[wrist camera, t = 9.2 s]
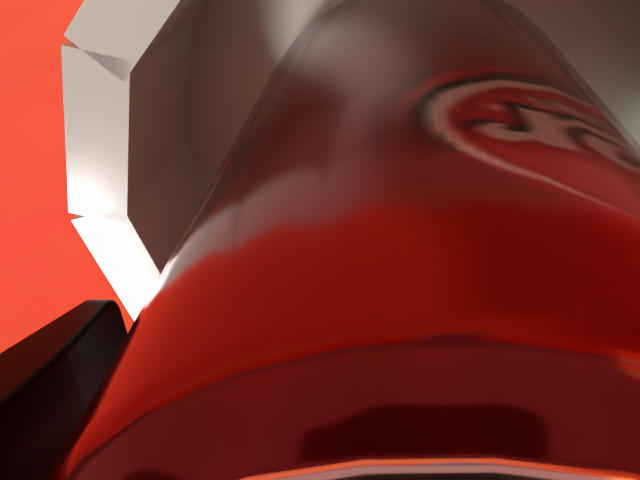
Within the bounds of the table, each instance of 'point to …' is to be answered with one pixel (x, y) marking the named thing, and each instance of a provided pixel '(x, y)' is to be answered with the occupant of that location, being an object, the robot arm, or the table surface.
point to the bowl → (231, 105)
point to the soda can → (395, 273)
